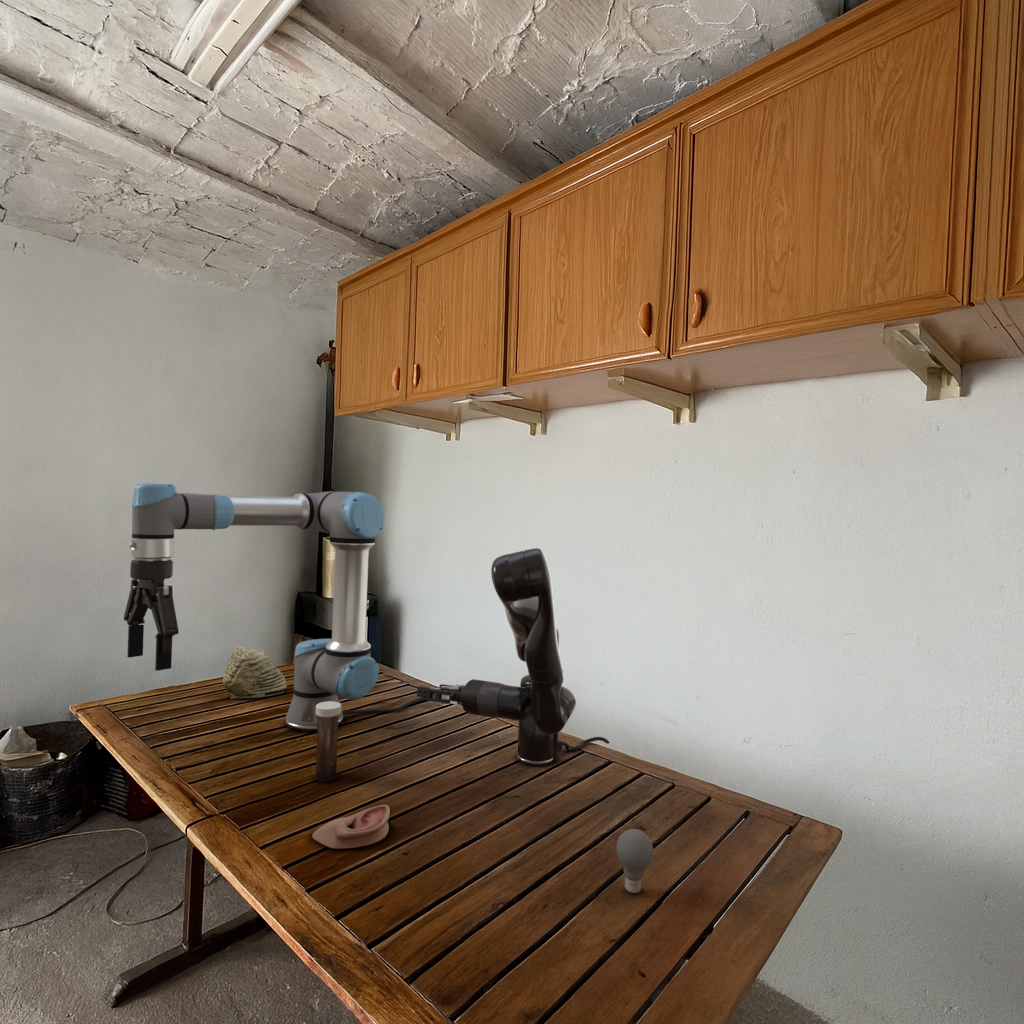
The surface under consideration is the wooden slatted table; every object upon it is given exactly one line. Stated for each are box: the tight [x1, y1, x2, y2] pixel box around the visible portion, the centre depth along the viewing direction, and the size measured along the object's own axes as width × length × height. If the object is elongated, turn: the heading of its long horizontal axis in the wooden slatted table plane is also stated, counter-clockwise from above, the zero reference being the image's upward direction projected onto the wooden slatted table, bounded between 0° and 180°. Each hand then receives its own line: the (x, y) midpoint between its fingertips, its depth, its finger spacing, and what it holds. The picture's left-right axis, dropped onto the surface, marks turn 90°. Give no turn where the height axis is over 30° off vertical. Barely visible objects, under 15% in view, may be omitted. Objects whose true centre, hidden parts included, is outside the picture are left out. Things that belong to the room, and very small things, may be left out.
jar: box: [315, 715, 339, 783], centre depth 143 cm, size 4×4×16 cm
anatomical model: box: [311, 804, 391, 850], centre depth 119 cm, size 13×4×12 cm
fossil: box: [222, 646, 288, 699], centre depth 198 cm, size 9×18×15 cm, turn 132°
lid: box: [316, 701, 342, 717], centre depth 142 cm, size 6×6×2 cm
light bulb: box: [615, 828, 654, 894], centre depth 106 cm, size 6×6×10 cm
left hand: (148, 662), depth 129 cm, fingers open, 13 cm apart
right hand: (429, 689), depth 148 cm, fingers open, 8 cm apart
